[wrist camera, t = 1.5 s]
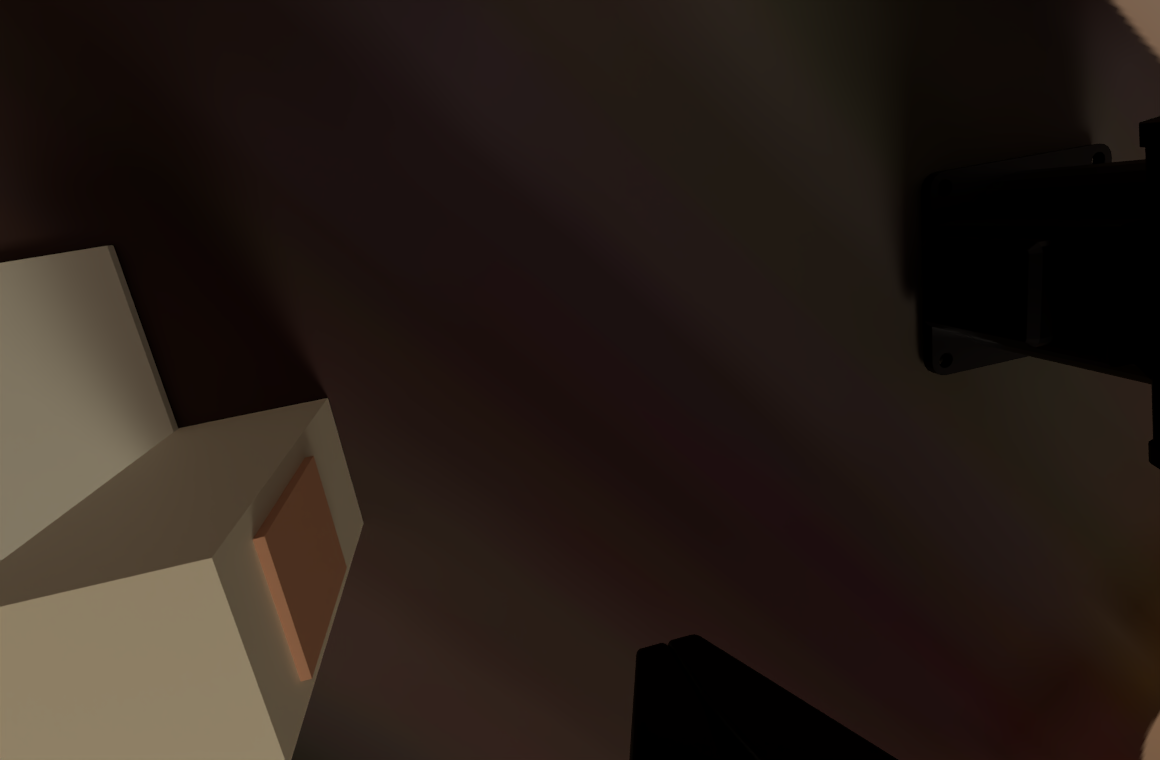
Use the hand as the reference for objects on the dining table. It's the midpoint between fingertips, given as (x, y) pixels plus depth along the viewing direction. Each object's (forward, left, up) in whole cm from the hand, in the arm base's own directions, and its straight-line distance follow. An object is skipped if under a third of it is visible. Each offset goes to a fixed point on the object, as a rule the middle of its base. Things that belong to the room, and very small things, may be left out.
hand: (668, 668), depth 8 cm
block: (+8, 0, -11) cm, 14 cm away
